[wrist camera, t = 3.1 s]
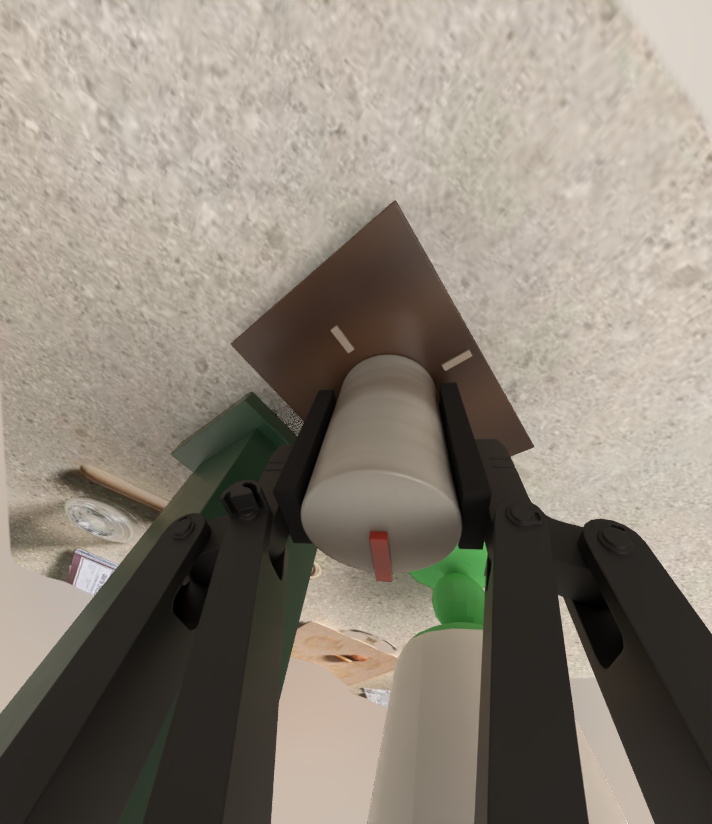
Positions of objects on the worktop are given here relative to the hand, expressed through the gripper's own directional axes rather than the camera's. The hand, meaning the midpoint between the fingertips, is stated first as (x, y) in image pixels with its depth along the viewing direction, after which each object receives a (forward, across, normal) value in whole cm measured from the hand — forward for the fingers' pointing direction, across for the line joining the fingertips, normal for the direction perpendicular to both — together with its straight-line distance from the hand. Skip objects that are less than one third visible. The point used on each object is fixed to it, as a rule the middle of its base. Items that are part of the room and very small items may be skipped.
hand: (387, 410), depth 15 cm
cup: (+4, +5, -20) cm, 21 cm away
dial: (+1, 0, 0) cm, 1 cm away
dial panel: (+4, 0, 0) cm, 4 cm away
